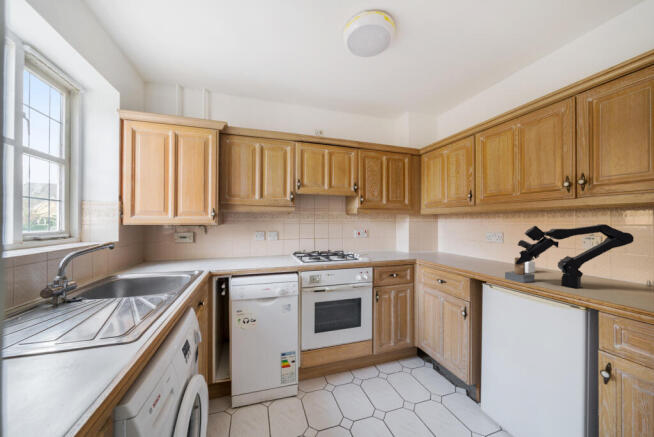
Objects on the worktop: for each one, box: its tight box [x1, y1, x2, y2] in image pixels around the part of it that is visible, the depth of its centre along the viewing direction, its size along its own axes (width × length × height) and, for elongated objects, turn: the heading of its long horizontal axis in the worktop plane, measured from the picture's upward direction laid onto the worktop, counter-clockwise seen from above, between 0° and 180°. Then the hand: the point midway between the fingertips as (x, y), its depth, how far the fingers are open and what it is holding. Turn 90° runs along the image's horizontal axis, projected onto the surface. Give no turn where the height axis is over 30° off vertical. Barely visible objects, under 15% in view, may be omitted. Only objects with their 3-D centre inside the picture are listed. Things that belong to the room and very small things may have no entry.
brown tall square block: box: [514, 256, 525, 275], centre depth 146 cm, size 4×4×10 cm
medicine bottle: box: [519, 254, 536, 274], centre depth 169 cm, size 7×7×12 cm
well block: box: [504, 270, 535, 284], centre depth 146 cm, size 10×10×4 cm
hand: (516, 263), depth 147 cm, fingers closed on brown tall square block, 4 cm apart
